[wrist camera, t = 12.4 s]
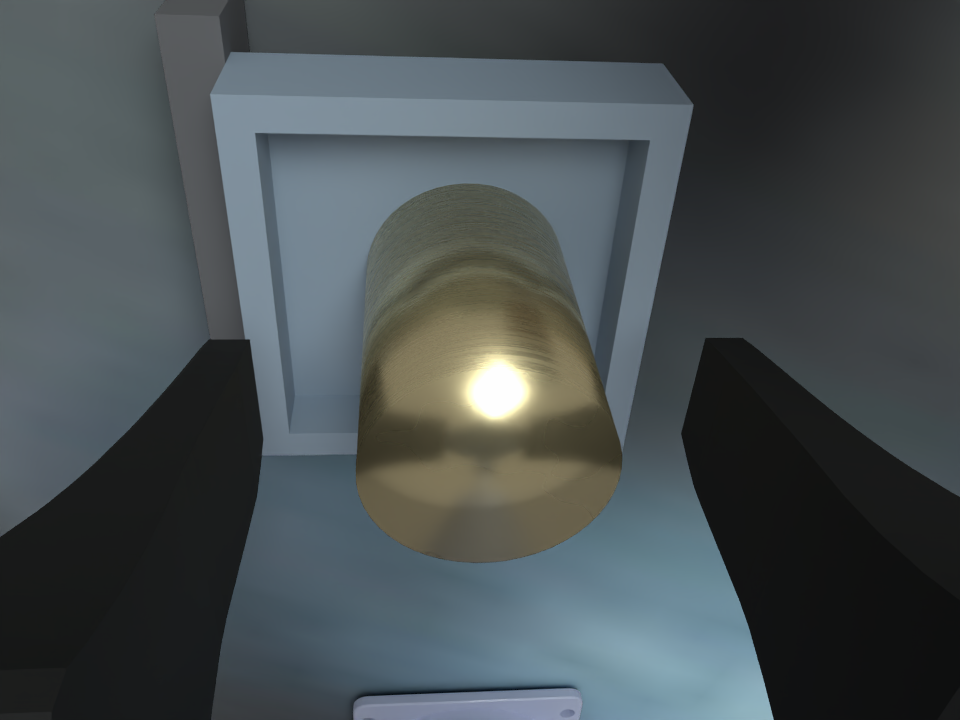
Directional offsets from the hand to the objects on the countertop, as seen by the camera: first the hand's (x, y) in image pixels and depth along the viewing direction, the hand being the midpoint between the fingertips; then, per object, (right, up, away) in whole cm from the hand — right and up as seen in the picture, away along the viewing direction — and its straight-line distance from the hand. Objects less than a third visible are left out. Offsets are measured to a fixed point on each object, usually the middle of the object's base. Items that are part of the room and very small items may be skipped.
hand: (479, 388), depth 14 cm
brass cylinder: (0, +2, +3) cm, 4 cm away
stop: (-5, +4, +4) cm, 8 cm away
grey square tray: (-1, +4, +5) cm, 6 cm away
